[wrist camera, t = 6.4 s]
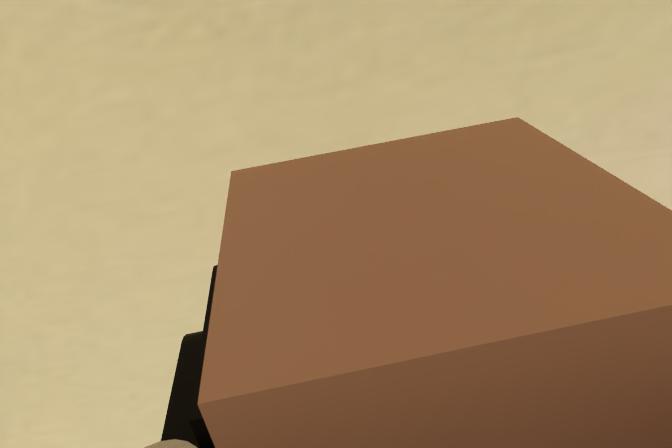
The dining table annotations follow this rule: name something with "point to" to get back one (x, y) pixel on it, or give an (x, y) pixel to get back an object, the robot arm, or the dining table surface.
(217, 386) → the block
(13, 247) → the dining table surface
